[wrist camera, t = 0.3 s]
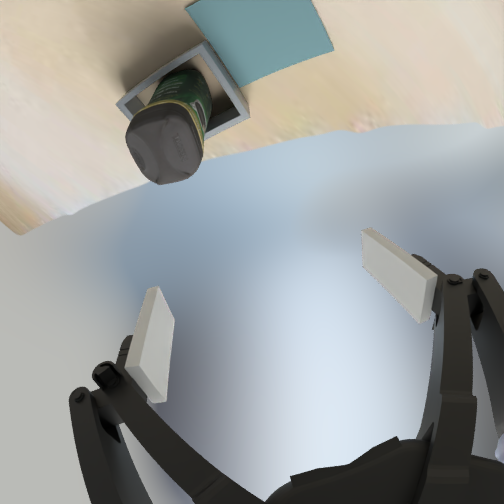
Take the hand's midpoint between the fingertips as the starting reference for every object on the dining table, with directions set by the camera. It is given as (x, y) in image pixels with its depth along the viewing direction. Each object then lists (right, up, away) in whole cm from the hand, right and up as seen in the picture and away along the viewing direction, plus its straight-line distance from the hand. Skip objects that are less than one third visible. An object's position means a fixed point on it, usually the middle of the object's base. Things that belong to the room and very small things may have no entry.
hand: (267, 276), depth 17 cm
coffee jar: (-11, +26, +21) cm, 35 cm away
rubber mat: (+1, +34, +12) cm, 36 cm away
